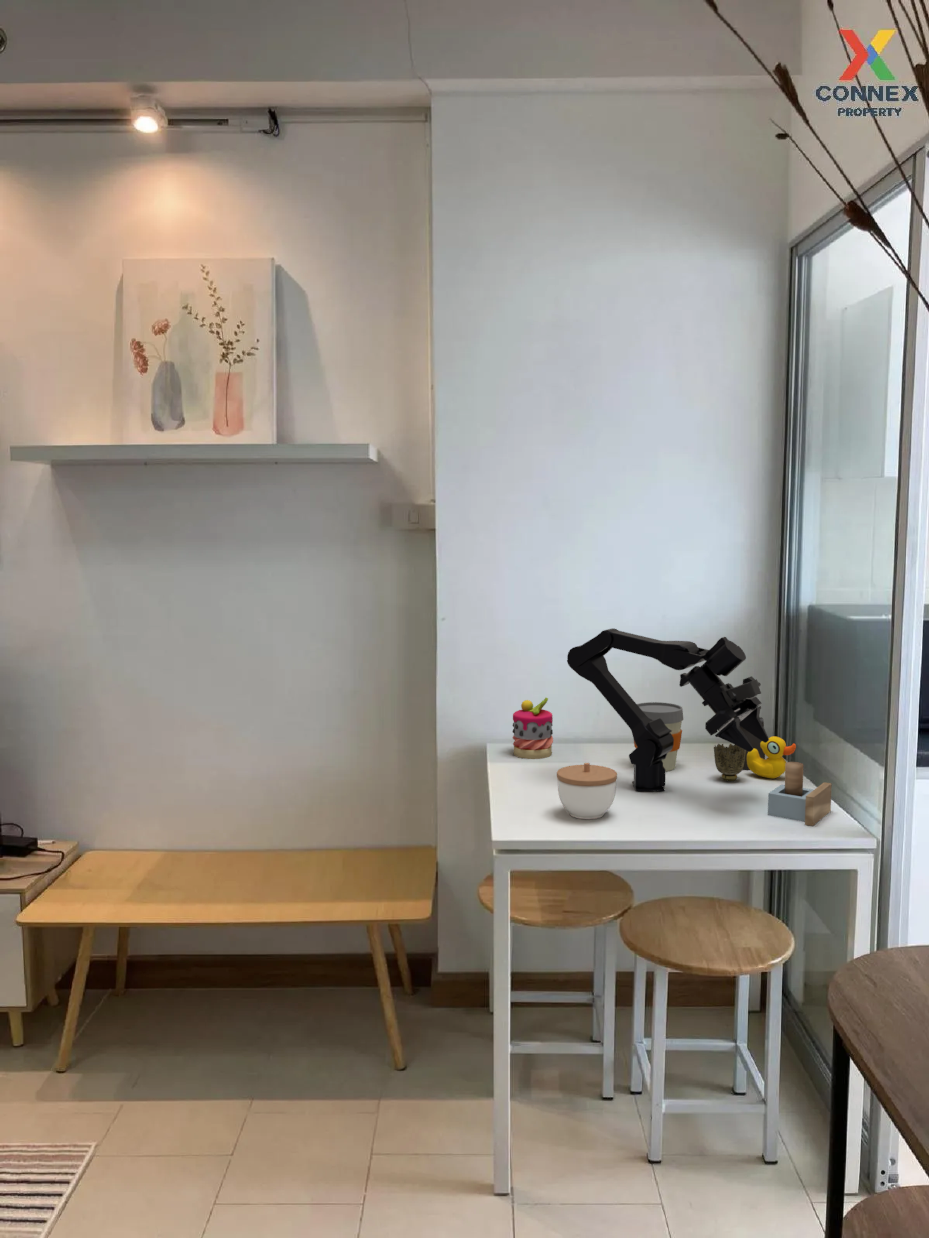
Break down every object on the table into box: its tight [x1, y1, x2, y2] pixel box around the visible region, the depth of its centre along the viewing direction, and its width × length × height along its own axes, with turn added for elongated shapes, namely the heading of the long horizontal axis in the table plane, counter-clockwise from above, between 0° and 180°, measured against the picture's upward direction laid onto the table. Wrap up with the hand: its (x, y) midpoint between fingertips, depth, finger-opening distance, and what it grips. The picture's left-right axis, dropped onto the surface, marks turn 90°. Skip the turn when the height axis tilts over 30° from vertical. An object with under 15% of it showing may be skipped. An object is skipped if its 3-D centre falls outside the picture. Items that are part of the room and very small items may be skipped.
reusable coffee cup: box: [633, 701, 684, 772], centre depth 253 cm, size 12×13×15 cm
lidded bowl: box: [556, 762, 618, 820], centre depth 217 cm, size 13×13×11 cm
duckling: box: [747, 735, 797, 779], centre depth 243 cm, size 11×5×10 cm, turn 57°
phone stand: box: [739, 716, 766, 771], centre depth 254 cm, size 9×6×12 cm, turn 176°
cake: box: [512, 697, 554, 760], centre depth 267 cm, size 10×11×15 cm
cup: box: [713, 743, 746, 782], centre depth 242 cm, size 8×7×8 cm
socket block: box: [767, 784, 814, 823], centre depth 217 cm, size 8×8×5 cm
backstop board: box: [804, 781, 833, 827], centre depth 214 cm, size 2×12×6 cm, turn 144°
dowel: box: [784, 761, 804, 797], centre depth 216 cm, size 4×4×10 cm
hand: (759, 745), depth 220 cm, fingers open, 9 cm apart
